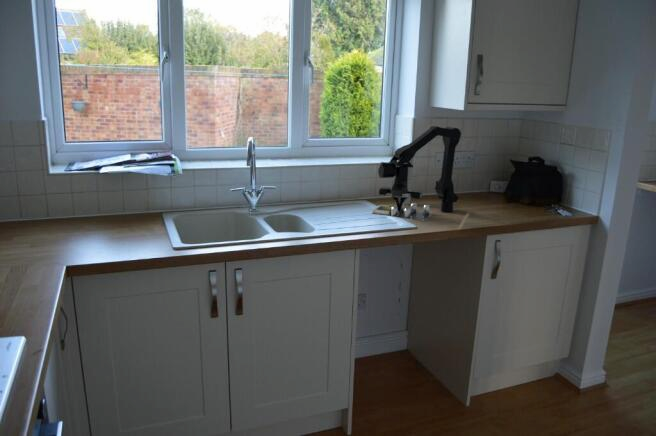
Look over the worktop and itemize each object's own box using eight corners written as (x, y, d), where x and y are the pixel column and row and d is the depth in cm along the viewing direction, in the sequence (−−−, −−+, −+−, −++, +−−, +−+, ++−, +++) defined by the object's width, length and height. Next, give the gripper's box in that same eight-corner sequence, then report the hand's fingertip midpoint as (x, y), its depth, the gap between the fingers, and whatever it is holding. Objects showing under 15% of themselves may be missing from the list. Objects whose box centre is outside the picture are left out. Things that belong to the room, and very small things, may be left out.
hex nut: (384, 213, 237) (385, 206, 237) (387, 210, 242) (388, 204, 242) (395, 214, 236) (395, 207, 235) (398, 211, 241) (398, 205, 240)
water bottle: (413, 206, 256) (417, 155, 250) (399, 207, 253) (402, 155, 247) (404, 202, 264) (407, 152, 258) (390, 202, 262) (393, 153, 255)
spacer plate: (379, 209, 248) (380, 199, 247) (432, 216, 239) (433, 205, 238) (371, 215, 236) (371, 205, 235) (426, 222, 227) (427, 211, 226)
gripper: (376, 178, 229) (374, 212, 233) (418, 182, 223) (415, 217, 227) (383, 174, 239) (381, 207, 244) (423, 178, 233) (421, 211, 237)
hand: (399, 211), depth 238 cm, fingers closed
